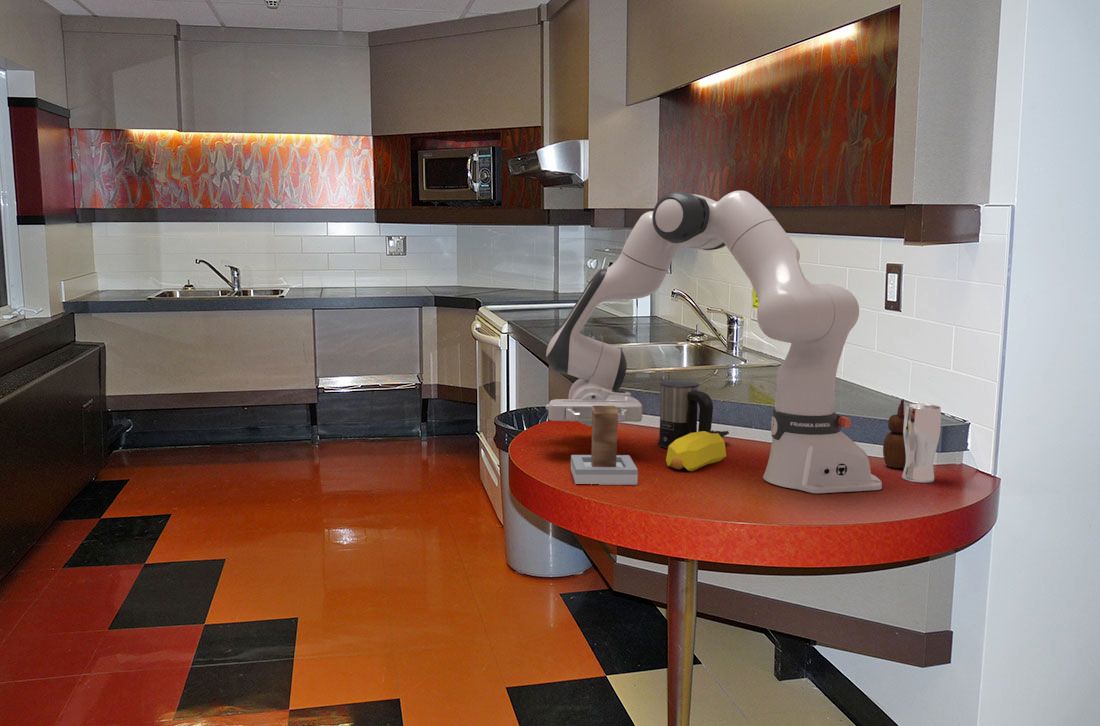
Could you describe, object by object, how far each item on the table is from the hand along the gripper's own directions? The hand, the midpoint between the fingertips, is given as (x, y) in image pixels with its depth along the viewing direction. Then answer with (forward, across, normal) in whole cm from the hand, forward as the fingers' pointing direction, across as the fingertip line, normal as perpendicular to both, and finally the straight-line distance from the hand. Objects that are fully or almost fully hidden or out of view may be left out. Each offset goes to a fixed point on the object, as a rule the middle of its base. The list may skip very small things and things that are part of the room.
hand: (598, 417), depth 191 cm
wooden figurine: (0, +64, +10) cm, 65 cm away
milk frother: (-20, +25, +10) cm, 34 cm away
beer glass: (+10, +64, +10) cm, 66 cm away
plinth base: (+9, 0, +10) cm, 14 cm away
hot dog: (-2, +21, +11) cm, 24 cm away
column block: (+9, 0, +8) cm, 12 cm away
